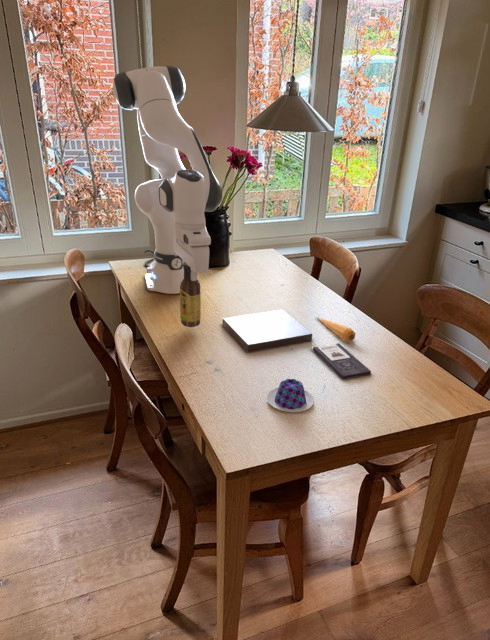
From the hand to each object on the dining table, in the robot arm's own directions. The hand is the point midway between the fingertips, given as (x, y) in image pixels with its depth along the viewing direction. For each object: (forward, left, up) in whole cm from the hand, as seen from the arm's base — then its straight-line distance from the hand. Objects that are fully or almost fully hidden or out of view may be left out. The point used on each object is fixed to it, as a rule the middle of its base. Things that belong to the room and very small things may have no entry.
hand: (190, 277), depth 159 cm
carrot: (+15, +44, -18) cm, 50 cm away
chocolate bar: (+34, +34, -18) cm, 51 cm away
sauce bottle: (0, 0, -16) cm, 16 cm away
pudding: (+47, +10, -18) cm, 52 cm away
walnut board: (+9, +22, -18) cm, 30 cm away
